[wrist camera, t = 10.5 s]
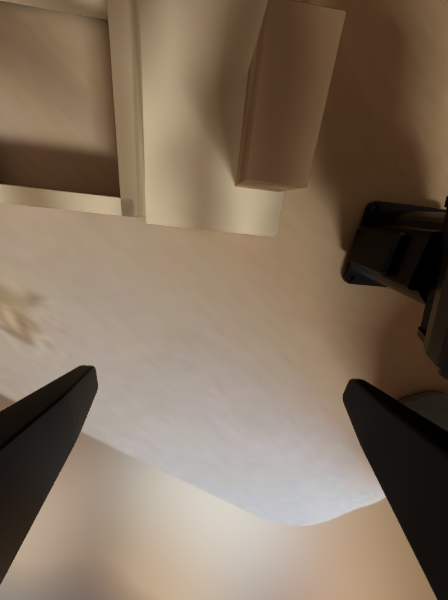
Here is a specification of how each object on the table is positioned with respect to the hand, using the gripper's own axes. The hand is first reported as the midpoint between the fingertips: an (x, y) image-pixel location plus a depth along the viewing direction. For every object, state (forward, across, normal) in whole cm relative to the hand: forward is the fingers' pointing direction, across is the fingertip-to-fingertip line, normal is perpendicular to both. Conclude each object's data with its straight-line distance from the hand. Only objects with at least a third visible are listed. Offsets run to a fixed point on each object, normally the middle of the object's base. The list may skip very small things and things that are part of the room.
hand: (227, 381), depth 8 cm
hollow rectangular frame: (+12, +6, -10) cm, 17 cm away
